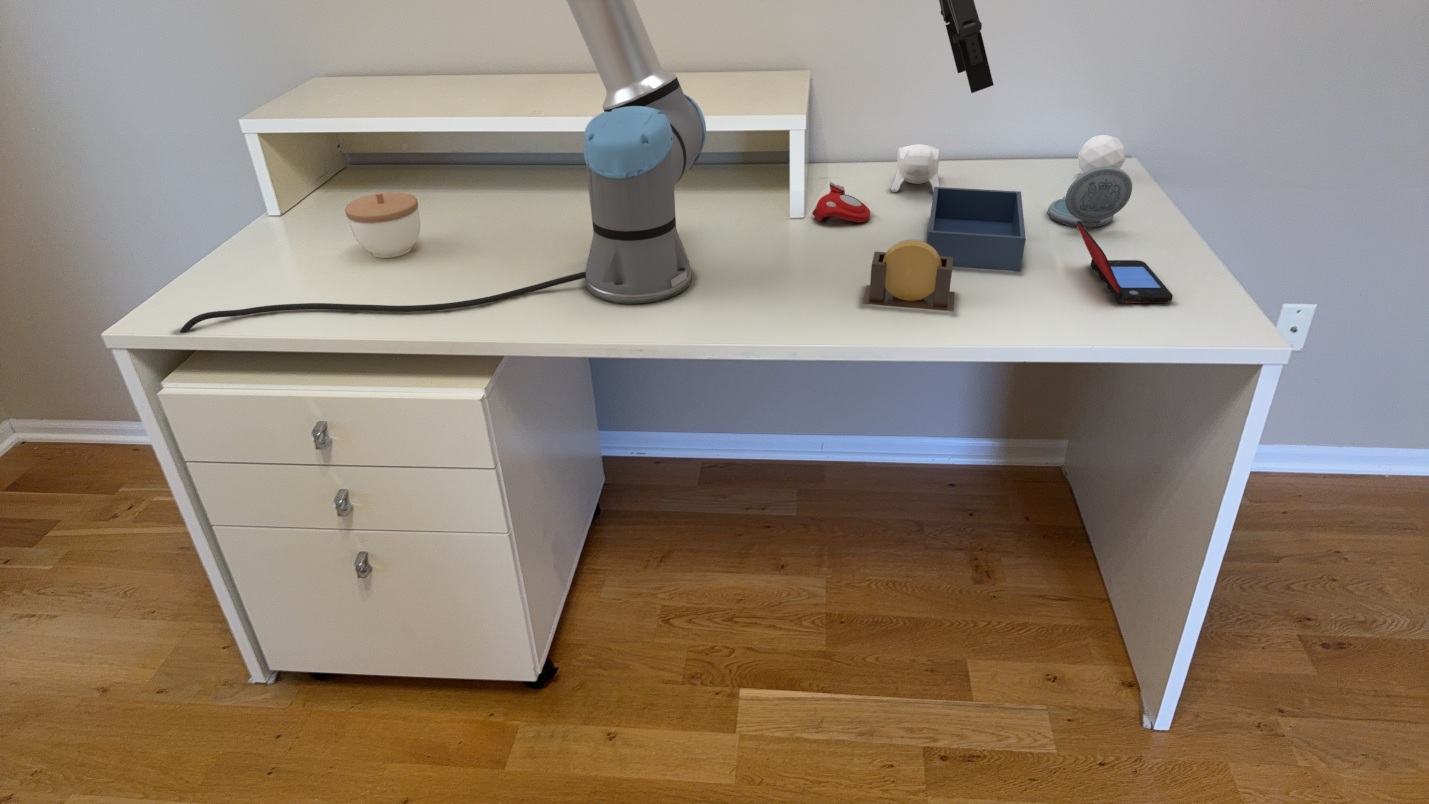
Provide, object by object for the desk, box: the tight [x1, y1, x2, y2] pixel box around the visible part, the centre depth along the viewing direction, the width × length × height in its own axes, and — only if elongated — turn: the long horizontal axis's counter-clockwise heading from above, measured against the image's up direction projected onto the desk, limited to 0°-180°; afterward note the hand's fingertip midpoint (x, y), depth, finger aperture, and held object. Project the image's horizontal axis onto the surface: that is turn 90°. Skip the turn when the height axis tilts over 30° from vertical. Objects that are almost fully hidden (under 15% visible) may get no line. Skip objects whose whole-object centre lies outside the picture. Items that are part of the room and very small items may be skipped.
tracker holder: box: [811, 181, 872, 223], centre depth 151 cm, size 12×4×10 cm
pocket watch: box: [1047, 167, 1133, 228], centre depth 144 cm, size 10×11×15 cm
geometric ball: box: [1077, 133, 1126, 174], centre depth 161 cm, size 8×8×8 cm
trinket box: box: [344, 191, 421, 259], centre depth 141 cm, size 11×11×9 cm
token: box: [882, 239, 942, 301], centre depth 122 cm, size 2×8×8 cm, turn 76°
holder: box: [861, 251, 955, 312], centre depth 122 cm, size 12×6×6 cm, turn 76°
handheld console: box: [1077, 221, 1174, 304], centre depth 124 cm, size 12×11×7 cm
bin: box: [926, 186, 1026, 272], centre depth 138 cm, size 19×13×6 cm
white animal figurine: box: [890, 143, 942, 193], centre depth 159 cm, size 9×8×15 cm
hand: (974, 78), depth 118 cm, fingers open, 13 cm apart
